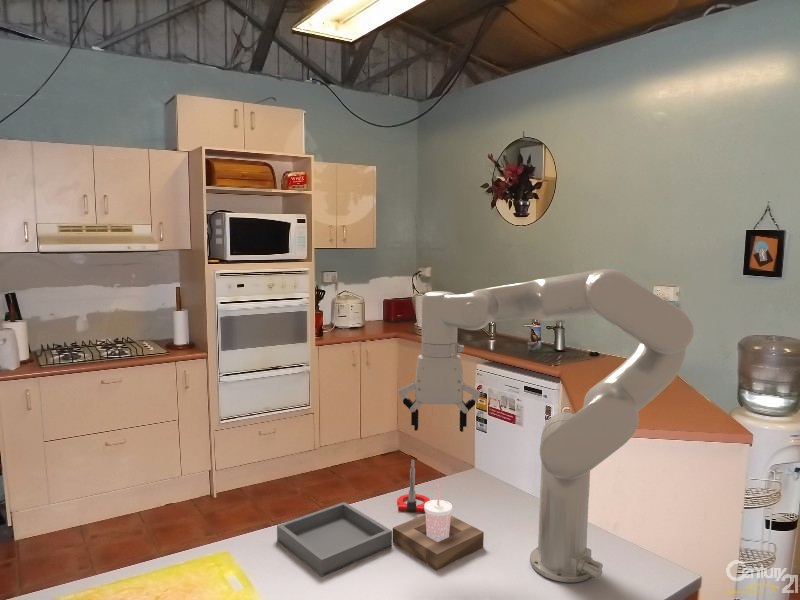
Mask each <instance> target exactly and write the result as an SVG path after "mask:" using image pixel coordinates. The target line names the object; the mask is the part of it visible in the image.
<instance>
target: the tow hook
mask: <svg viewBox="0 0 800 600" xmlns="http://www.w3.org/2000/svg"><path fill="white" fill-rule="evenodd" d="M415 477H416V468H415V460H414V459H411V461H410V468H409V490H408V494H403V495H400V496H399V497H398V498H397V501H396V503H397V510H398V511H399V512H400V511H401V512H407V513H421V512H423V514H426V513H425V510H424V505H425V503H426V502H428V501H431V499H430V498H429V497H427V496H426V495H422V494H418V493H417V494H416V490H415V488H416V487H415V485H416V484H415V480H416V479H415ZM417 500H419V501H422V502H423V503H421V504H417ZM405 501H407V502H405Z"/></svg>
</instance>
